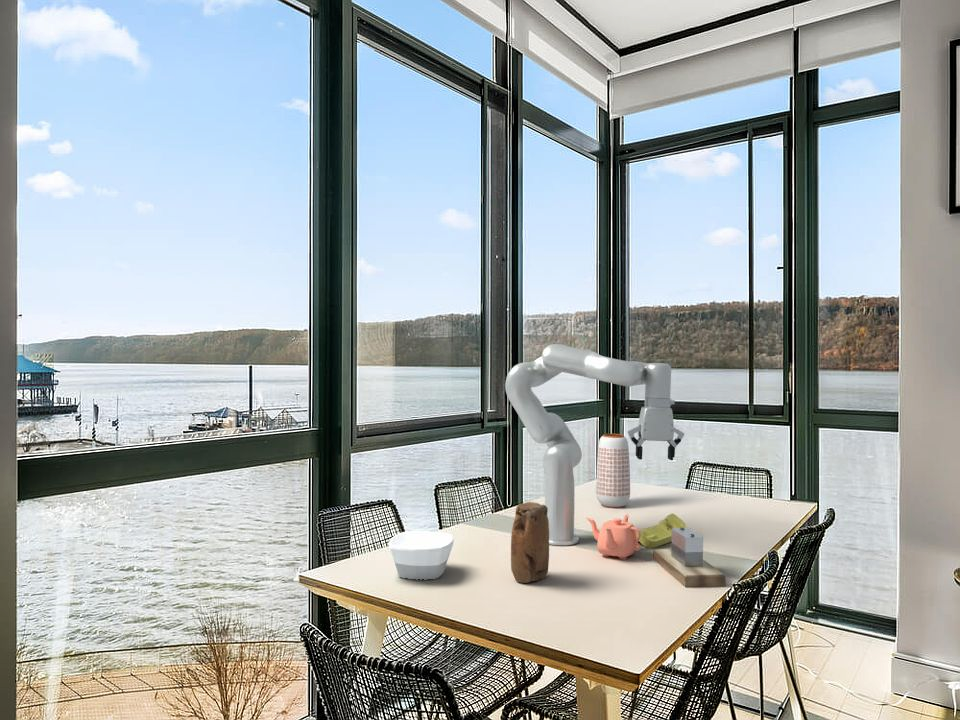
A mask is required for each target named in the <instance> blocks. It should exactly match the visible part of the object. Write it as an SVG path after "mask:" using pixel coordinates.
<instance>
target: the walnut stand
mask: <svg viewBox="0 0 960 720" xmlns="http://www.w3.org/2000/svg"><path fill="white" fill-rule="evenodd" d="M652 556H653V557H652V558H653V559H652V560H653V561H654V562H655V563H657V564H658V565H659V566H660V567H661V568H662V569H664V570H665V571H666V572H667V573H668V574H669V575H670V576H672V577H673V579H675V580H676V581H677V582H679V583H680V584H681V585H682V586H683V587H684V586H685V588H697V587H699V588H700V587H701V588H703V586H706V588H707V587H708V588H709V587H726V582H727V581H726V577H727V576H726V575H725V574H724V573H723V572H721V571H720V570H718V569H717V568H716V567H714V566H713V565H711V563H709V562H707V561H706V560H705V559H703V566H701V567H685V566H683V565H682V564H681V563H679V562H678V561H677V560H676V559H674V558H673V557H672V556H671V548H666V549H663V548H661V549H654V550H653V554H652Z"/></svg>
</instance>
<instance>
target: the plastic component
mask: <svg viewBox="0 0 960 720" xmlns="http://www.w3.org/2000/svg"><path fill="white" fill-rule="evenodd" d="M633 527H636V526H634V525H633ZM681 527H682V528H687V525H686V523H685V522H684V520H682V519H681V518H680V517H679V516H678V515H676V514H674V513H670V514H668V515H667V516H666V517H665V518H664V519H661V520H660V521H659V522H658V524H656V525H653V526H649V527H646V528H643V529H641V530H640V529H639V530H640V532H641V537H640V539H639V541H638V543H639V542H640V543H639V544H642V546H644V547H645V548H646V549H647V548H648V549H655V548H657V547H660V546H662V545H665V544H668V543H671V533H672V528H681ZM635 533H636V539H637V536H638V533H637V531H635Z"/></svg>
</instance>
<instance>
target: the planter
mask: <svg viewBox="0 0 960 720" xmlns="http://www.w3.org/2000/svg"><path fill="white" fill-rule="evenodd" d="M629 449H630V448H629V442H628V439H627V438H626V437H625V435H624V434H621V433H604V434H603V435H602V436H601V437H600V438H599V442H598V449H597V460H596V480H595V481H596V483H595V495H596V499H597V500H598V502H599V504H600V505H601V506H602V507H603V508H608V509H620V508H624V507H625V505H626V504H628V502H629V500H630V497H631V467H630V450H629Z"/></svg>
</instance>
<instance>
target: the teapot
mask: <svg viewBox="0 0 960 720" xmlns="http://www.w3.org/2000/svg"><path fill="white" fill-rule="evenodd" d="M629 517H630V515H629V514H625V515H624V516H623V520H622V518H617V517H616V518H613V519H610V520H607V521H605V522H604V523H603V524H602V525H601V527H600V530H599V529H598V526H597V523H596V521H595V520H594V519H592V518H588V517H586V518H585V519H587V521H588V522H589V523H590V524H591V529H592V534H593V537H594V540H596V541H597V551H598V553H599V554H602V556H601V557H604V558H609V557H610V556H611V557H618V558H619V560H621V561H625V560H627V557H629V556H632V555H633V554H634V553H635V552H637V551H640V550H641V549H642V546H641V543H639V539H640V537H641V532H640V529H639V528H638V527H636V526H635V527H633V526H634V523H632V522H629ZM635 531H637V533H638V536H637V539H636V533H635Z"/></svg>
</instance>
